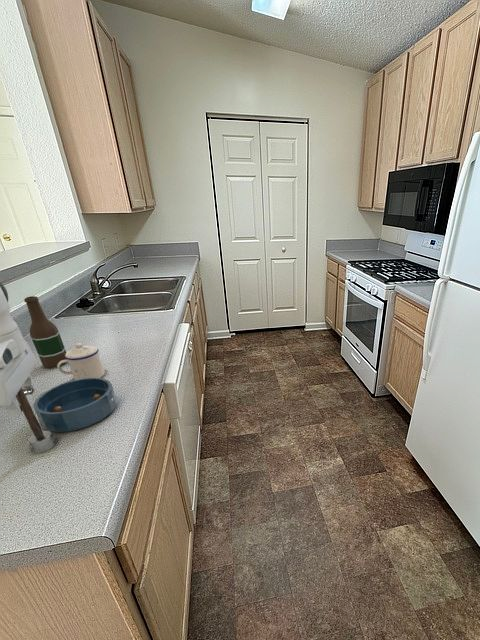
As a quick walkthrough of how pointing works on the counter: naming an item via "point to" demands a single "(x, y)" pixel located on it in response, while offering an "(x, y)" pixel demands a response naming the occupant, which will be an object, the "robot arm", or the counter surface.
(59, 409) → the bead
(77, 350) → the teacup with lid
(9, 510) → the counter surface
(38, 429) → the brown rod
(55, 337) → the beer bottle
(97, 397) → the bead
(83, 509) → the counter surface
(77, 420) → the bowl
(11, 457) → the counter surface
